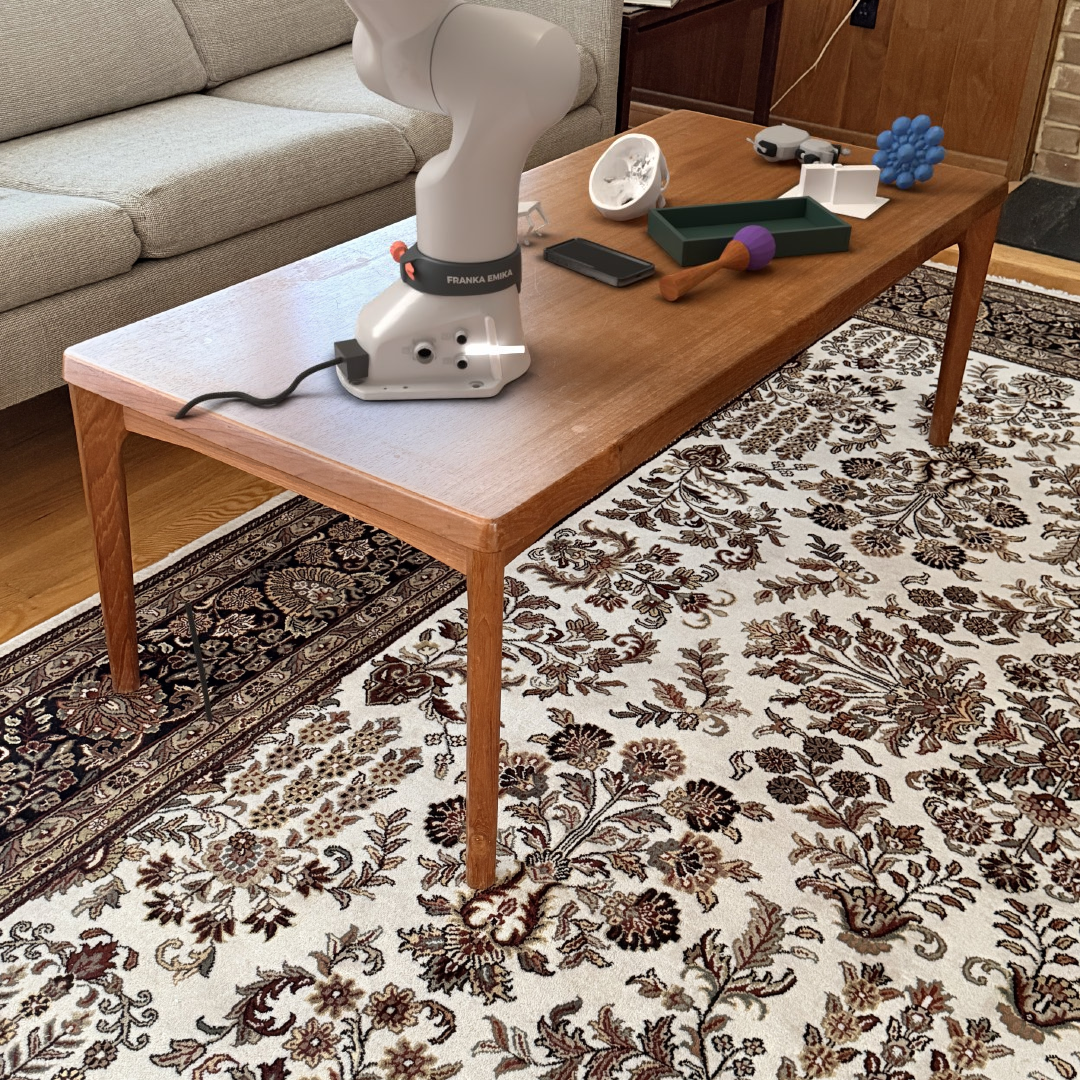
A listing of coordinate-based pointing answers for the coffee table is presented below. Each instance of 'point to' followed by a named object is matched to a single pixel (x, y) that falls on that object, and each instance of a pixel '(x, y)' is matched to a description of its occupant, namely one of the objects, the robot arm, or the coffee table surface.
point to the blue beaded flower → (909, 151)
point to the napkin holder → (840, 188)
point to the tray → (713, 226)
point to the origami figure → (526, 209)
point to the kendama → (725, 261)
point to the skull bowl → (629, 178)
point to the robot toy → (795, 146)
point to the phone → (599, 261)
